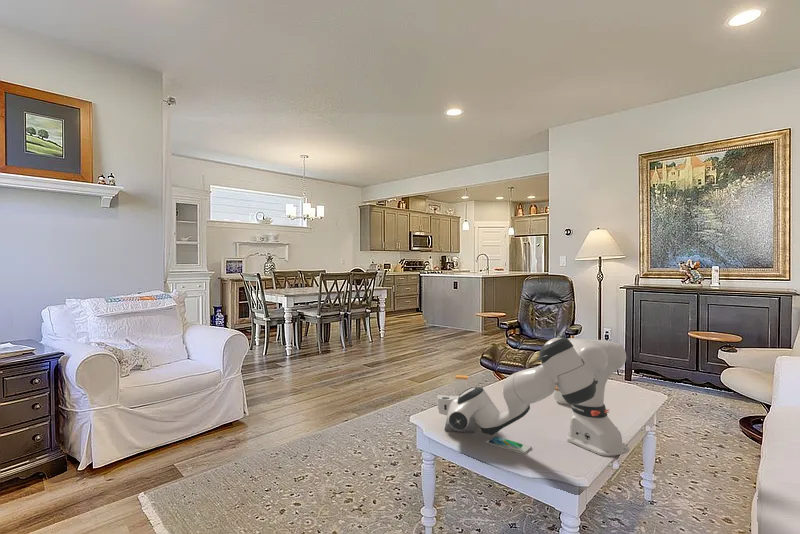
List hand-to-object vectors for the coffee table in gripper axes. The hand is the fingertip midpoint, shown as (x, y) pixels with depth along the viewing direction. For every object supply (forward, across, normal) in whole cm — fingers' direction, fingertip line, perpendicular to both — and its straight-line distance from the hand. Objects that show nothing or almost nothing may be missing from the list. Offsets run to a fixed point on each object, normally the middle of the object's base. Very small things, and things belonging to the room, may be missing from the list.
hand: (461, 396), depth 189 cm
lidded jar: (+33, -48, +10) cm, 59 cm away
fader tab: (+2, 0, +8) cm, 8 cm away
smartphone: (-24, -19, +10) cm, 32 cm away
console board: (-5, 0, +10) cm, 11 cm away
